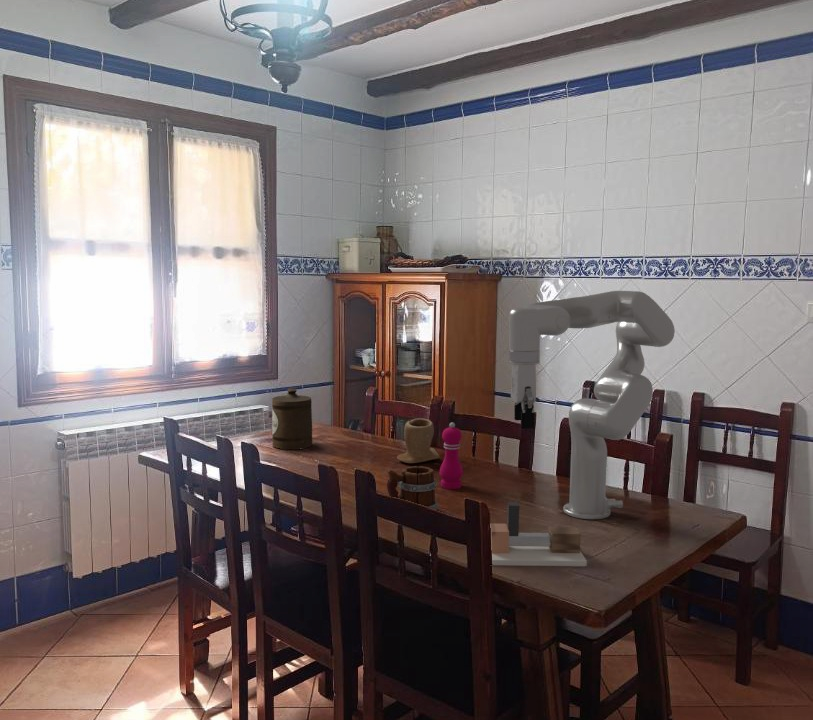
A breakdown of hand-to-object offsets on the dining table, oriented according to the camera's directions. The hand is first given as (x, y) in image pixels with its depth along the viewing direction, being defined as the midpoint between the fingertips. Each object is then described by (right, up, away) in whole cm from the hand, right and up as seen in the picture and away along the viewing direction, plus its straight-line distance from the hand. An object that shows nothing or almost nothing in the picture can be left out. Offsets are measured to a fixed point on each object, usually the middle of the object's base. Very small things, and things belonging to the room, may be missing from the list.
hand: (524, 424), depth 188 cm
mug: (-28, -26, +15) cm, 41 cm away
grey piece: (-2, -27, -15) cm, 31 cm away
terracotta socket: (-8, -28, -14) cm, 32 cm away
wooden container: (-73, -16, +92) cm, 119 cm away
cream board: (0, -29, -14) cm, 32 cm away
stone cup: (-25, -19, +70) cm, 77 cm away
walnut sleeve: (+7, -28, -14) cm, 32 cm away
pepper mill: (-16, -23, +40) cm, 49 cm away
